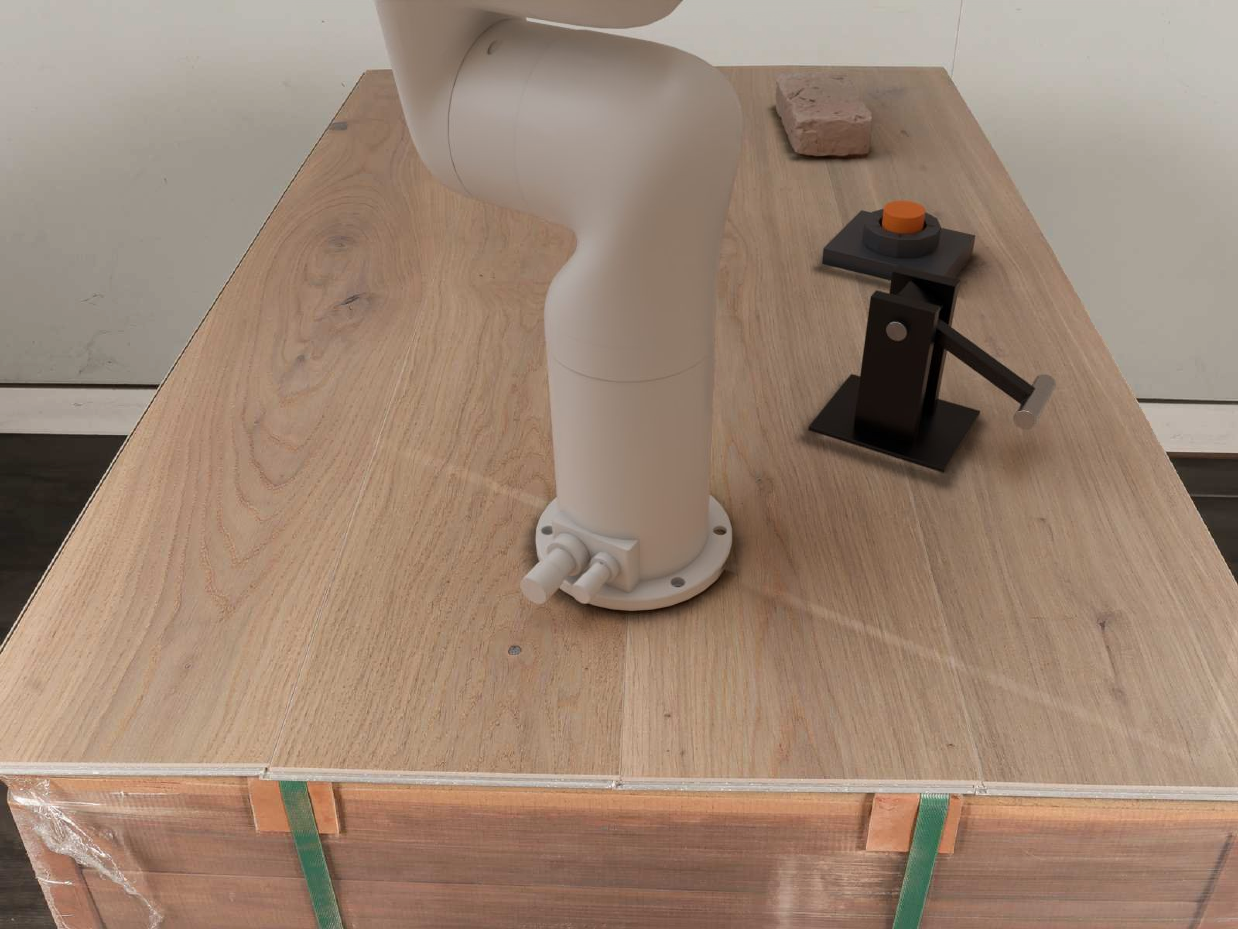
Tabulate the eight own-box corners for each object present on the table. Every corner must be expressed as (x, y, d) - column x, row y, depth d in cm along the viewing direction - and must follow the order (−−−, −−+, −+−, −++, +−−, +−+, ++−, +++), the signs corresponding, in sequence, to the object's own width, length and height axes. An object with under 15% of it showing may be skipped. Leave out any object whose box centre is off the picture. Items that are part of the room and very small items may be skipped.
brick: (772, 107, 134) (774, 67, 131) (841, 104, 134) (845, 65, 131) (794, 162, 121) (797, 120, 118) (871, 160, 121) (876, 117, 118)
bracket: (977, 424, 82) (1008, 280, 74) (941, 483, 76) (971, 334, 69) (849, 386, 86) (867, 247, 79) (806, 439, 81) (821, 295, 73)
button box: (971, 256, 102) (979, 216, 100) (939, 299, 96) (946, 257, 94) (858, 231, 107) (863, 191, 105) (821, 269, 101) (825, 229, 99)
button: (928, 223, 100) (931, 205, 99) (914, 239, 98) (917, 221, 96) (890, 215, 101) (892, 197, 100) (875, 230, 99) (877, 212, 98)
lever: (1043, 400, 76) (1065, 378, 74) (1022, 438, 73) (1045, 415, 71) (898, 295, 78) (917, 271, 76) (872, 328, 74) (891, 302, 73)
